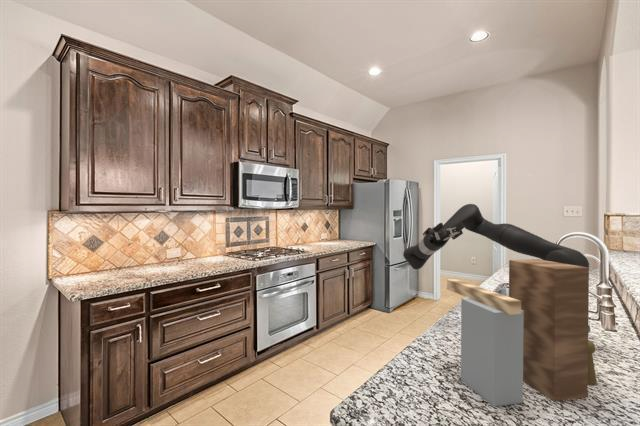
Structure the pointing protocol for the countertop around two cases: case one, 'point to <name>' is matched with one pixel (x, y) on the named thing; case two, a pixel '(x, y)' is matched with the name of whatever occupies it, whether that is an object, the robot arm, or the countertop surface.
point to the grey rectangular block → (492, 352)
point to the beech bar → (485, 296)
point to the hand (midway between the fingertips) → (452, 224)
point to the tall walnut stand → (553, 325)
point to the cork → (591, 364)
